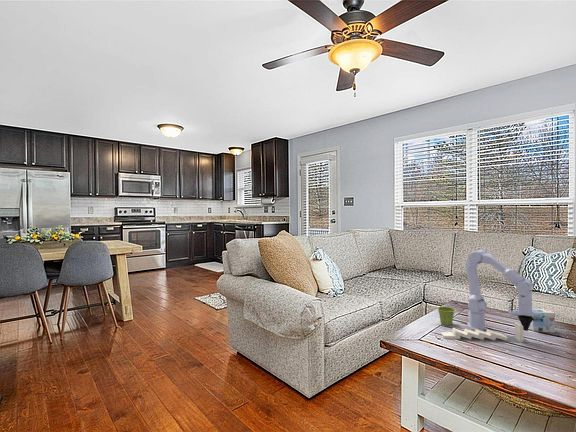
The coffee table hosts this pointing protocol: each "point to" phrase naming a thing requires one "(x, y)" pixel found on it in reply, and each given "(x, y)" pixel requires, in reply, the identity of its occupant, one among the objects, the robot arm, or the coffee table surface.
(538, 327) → the light bulb box
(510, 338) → the mat
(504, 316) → the coffee table surface
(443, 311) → the plant pot
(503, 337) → the domino
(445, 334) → the domino
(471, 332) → the domino
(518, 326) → the domino
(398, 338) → the coffee table surface
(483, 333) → the domino
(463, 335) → the domino
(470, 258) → the robot arm
